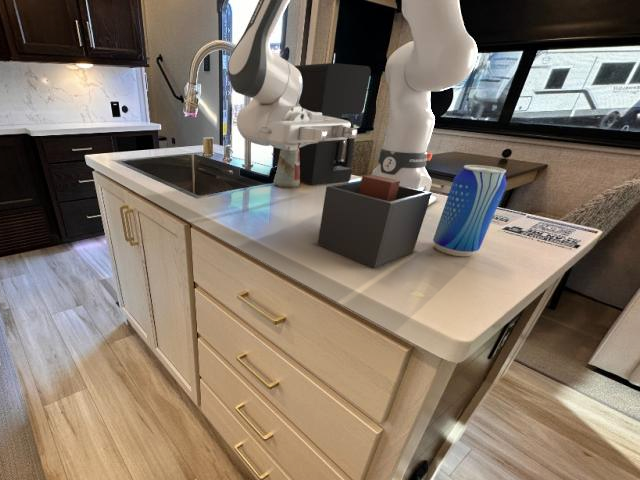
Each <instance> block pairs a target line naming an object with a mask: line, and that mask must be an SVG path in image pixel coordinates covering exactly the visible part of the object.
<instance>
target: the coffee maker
mask: <svg viewBox="0 0 640 480" xmlns="http://www.w3.org/2000/svg"><path fill="white" fill-rule="evenodd" d="M293 66H294V67H296V68H297V69H298V70H299V71H300V72H301V75H302V82H303V84H302V92H301V96H300V99H299V104H300V106H301V107H302V108H304V109H306V110H309V111H313V112H321V113H322V116H329V117H334V118H338V119H343V120H347V121H349V122H350V123H351V126H350V128H355V125H354V120H353V117H347V116H346V117H345V116H344V115H361V114H362V113H363V112H364V109H365V104H366V99H367V94H368V88H369V83H370V79H371V68H370V66H368V65H359V64H358V65H357V64H346V63H337V62H336V63H335V62H327V63H313V64H312V63H311V64H300V65H298V64H297V65H293ZM354 150H355V138H348V139H346V140H333V141H320V142H318V143H314V144H309V145H305V146H303V147H300V148H299V162H300V183H301V184H305V185H309V186H319V185H328V184H336V183H347V182H349V181H351V180H352V179H351V178H352V172H353V169H352V165H353V159H354ZM280 151H281V149H279V148H275V147H273V152H272V164H271V166H272V167H275V166H277V165H278V161H279V156H280ZM344 154H345V156H344ZM272 167H271V168H272Z"/></svg>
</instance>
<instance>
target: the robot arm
mask: <svg viewBox="0 0 640 480" xmlns="http://www.w3.org/2000/svg"><path fill="white" fill-rule="evenodd" d="M290 1H291V0H258V2H257V4H256V6H255V8H254V11H253V13H252V14H251V17H250V19H249V20H248V21H249V22H248V24H247V25H246V28H245V30H244V32H243V34H242V35H241V37H240V38H239V40H238V42H237V43H236V45H235V46H234V47H233V50H232V52H231V54H230V56H229V58H228V61H227V75H228V80H229V82H230V83H229V84H230V85H231V88H232V89H233V91H234V92H235V93H237V94H239V95H242V96H245V97H247V98H251V100H250V101H249V103H247V104H246V105H245V106H243V107H242V108H241V109H240V110H239V111H238V113H237V115H236V127H237V130H238V132H239V134H240V136H241V137H242V138H243V139H245V140H246V141H247V142H250V143H251V144H255V145H259V146H264V147H269V146H271V147H272V148H274V147H275V148H279V149H285V150H290V151H294V150H297V149H298V148H300V147H303V146H305V145H309V144H314V143H318V142H320V141H333V140H345V141H347V139H348V138H354V139H356V138H357V134H358V128H355V127H354V128H350V126H351V123H350V122H349V121H347V120H343V119H338V118H334V117H329V116H322V113H321V112H313V111H309V110H306V109H304V108H302V107H299V106H297V105H298V102H299V99H300V96H301V92H302V84H303V82H302V75H301V72H300V71H299V70H298V69H297V68H296V67H294V66H295V65H293V64H292V63H291V62H290V61H288V60H286V59H285V58H283V57H281V56H280V55H278V54H277V53H276V52H274V51H273V50H272V49H271V40H272V37H273V36H274V33H275V31H276V29H277V27H278V26H279V23H280V21H281V19H282V17H283V15H284V13H285V11H286V9H287V7H288V5H289V3H290ZM401 13H402V16H403V17H404V19H405V20H406V21H407V23H408V25H409V28H410V32H411V36H412V41H408V42H407V43H405V44H403V45H402V46H400V47H398V48H397V49H396V50H394V51H393V53H391V55H390V56H389V58H388V59H387V62H386V65H385V68H384V69H385V70H384V77H385V81H386V83H387V85H388V88H389V118H388V123H387V127H386V133H385V137H384V142H383V147H382V148H381V149H380V152H379V154H378V161H377V162H378V165H377V166H376V167H374V169H373V170H372V173H371V175H376V176H381V177H386V178H390V179H395V180H400V184H399V185H400V186H404V187H409V188H413V189H418V190H423V191H427V192H431V191H430V190H431V187H432V184H433V183H432V181H433V180H432V179H431V176H430V175H429V173H428V171H427V169H426V166H427V161H429V162H430V161H431V159H432V157H433V153H432V152H427V151H428V150H427V149H428V147H429V143H430V140H431V136H432V133H433V129H434V126H435V120H436V119H435V115H434V114H433V112H432V109H431V92H443V91H444V90H448V89H450V88H454V87H457V86H459V85H460V84H462V83H463V82H464V81H465V80H466V79H467V78H468V77H469V76H470V75H471V73H472V71H473V70H474V69H475V68H474V67H475V65H476V62H477V58H478V47H477V44H476V41H475V40H474V38H473V37H472V36H471V35H470V34H469V33H468V31H467V30H466V27H465V25H464V24H465V23H464V20H463V16H462V12H461V5H460V0H401ZM359 180H361V178H356V179H350V181H348V182H354V181H359ZM436 200H437V197H435V196H433V195H431V198H430V201H429V204H428V206H430V205H431V204H434V203H435V202H436Z"/></svg>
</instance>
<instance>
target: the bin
mask: <svg viewBox="0 0 640 480" xmlns="http://www.w3.org/2000/svg"><path fill="white" fill-rule="evenodd" d="M361 181H362V179H360V180H359V181H354V182H349V181H347V182H342V183H338V184H333V185H326V187H325V194H324V200H323V206H322V214H321V218H320V219H321V220H320V226H319V233H318V237H317V238H318V239H317V245H318V246H319V247H322V248H325V249H327V250H330V251H332V252H334V253H337V254H338V255H341V256H344V257H346V258H348V259H351V260H353V261H356V262H358V263H360V264H363V265H365V266H368V267H370V268H372V269H376V268H379V267H380V266H383V265H386V264H388V263H390V262H392V261H394V260H397V259H400V258H402V257H405V256H407V255H409V254H411V253H414V251H415V248H416V245H417V242H418V238H419V235H420V232H421V229H422V226H423V222H424V219H425V216H426V213H427V211H428V207H429V205H428V204H429V201H430V198H431V196H433V195H432V194H433V192H432V191H429V192H427V191H423V190H418V189H413V188H409V187H404V186H400V185H399V188H398V191H397V195H396V199H395V200H394V201H390V202H389V201H385V200H381V199H377V198H373V197H370V196H366V195H362V194H359V191H360V186H361Z"/></svg>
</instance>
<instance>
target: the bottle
mask: <svg viewBox="0 0 640 480" xmlns="http://www.w3.org/2000/svg"><path fill="white" fill-rule="evenodd" d="M297 106H299V107H301V106H300V104H299V102H298V105H297ZM300 183H301V182H300V162H299V148H298V149H297V150H294V151H290V150H285V149H281V151H280V156H279V161H278V165H277V170H276V174H275V173H274V179H273V184H274V185H276V186H278V187H281V188H283V189H284V188H287V189H294V188H298V187H299V185H300Z"/></svg>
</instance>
